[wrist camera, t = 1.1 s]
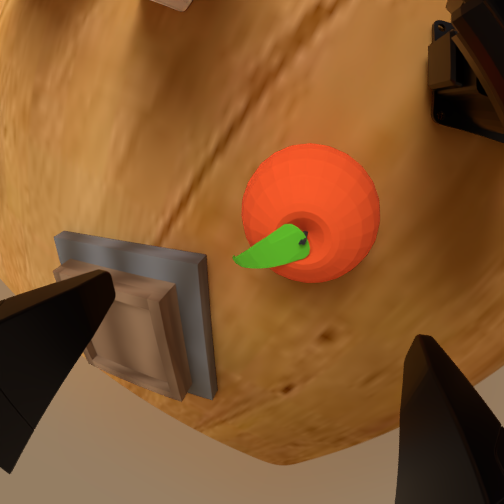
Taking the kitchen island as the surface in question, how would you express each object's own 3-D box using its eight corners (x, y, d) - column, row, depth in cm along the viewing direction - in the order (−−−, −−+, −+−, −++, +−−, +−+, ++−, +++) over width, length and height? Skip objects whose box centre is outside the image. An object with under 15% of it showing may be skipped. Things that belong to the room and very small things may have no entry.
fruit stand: (206, 254, 22) (180, 283, 19) (217, 389, 29) (203, 418, 26) (64, 230, 26) (35, 248, 23) (100, 348, 33) (82, 368, 30)
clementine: (283, 268, 21) (255, 337, 15) (227, 181, 19) (171, 219, 13) (391, 219, 17) (413, 279, 11) (337, 116, 15) (335, 118, 9)
